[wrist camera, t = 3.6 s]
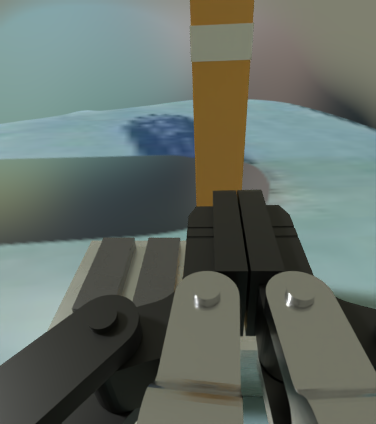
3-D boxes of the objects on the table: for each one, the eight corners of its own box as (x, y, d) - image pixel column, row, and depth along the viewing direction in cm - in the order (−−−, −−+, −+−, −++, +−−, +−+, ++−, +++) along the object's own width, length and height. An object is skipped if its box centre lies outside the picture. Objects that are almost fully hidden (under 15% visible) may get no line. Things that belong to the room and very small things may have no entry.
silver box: (64, 389, 20) (35, 336, 16) (104, 283, 27) (89, 232, 24) (284, 397, 19) (300, 342, 15) (262, 285, 26) (270, 232, 23)
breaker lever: (197, 244, 23) (188, -26, 14) (197, 229, 24) (189, -23, 15) (238, 244, 22) (257, -30, 13) (236, 229, 24) (252, -27, 15)
